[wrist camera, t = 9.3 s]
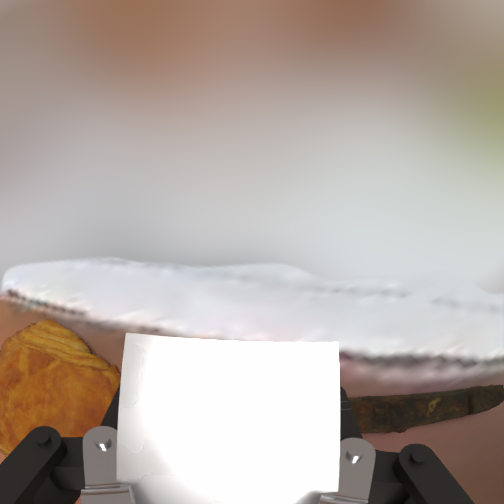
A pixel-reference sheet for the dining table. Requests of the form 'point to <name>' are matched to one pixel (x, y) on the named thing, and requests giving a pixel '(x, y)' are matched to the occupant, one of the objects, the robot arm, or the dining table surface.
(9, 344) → the croissant
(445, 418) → the hand tool
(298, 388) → the light grey block
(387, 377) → the dining table surface
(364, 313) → the dining table surface
